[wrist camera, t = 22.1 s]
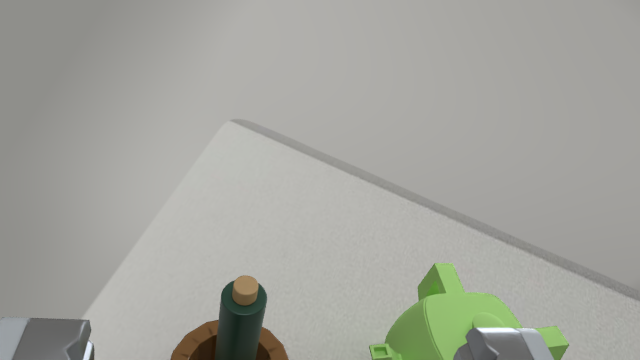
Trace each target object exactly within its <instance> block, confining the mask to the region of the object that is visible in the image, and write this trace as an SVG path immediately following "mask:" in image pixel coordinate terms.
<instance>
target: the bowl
mask: <svg viewBox="0 0 640 360" xmlns="http://www.w3.org/2000/svg"><path fill="white" fill-rule="evenodd" d="M218 322H219V320H215V321H211V322H206V323H205V324H203V325H201V326H200V327H198V328H196V329H195V330H193V331H191V332H190V333H188V334H187V335H186V336H185V337H184V338H183V339H182V341H181V342H180V343H179V344H178V346H177V347H176V348H175V350H174V351H173V353H172V356H171V359H170V360H215V350H216V341H217V331H218ZM255 360H289V359H288V356H287V353H286V351H285V348H284V346H283V344H282V343H281V342H280V341H279V340H278V339H277V338H276V337H275V336H274V335H273V334H272V333H271V332H270V331H269V330H268V329H266V328H264V327H262V328H261V333H260V339H259V344H258V349H257V354H256V359H255Z"/></svg>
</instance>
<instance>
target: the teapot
mask: <svg viewBox="0 0 640 360" xmlns="http://www.w3.org/2000/svg"><path fill="white" fill-rule="evenodd" d="M418 297H419V302H417V303H416V304H414V305H413V306H412V307H410V308H409V309H408V310H406V311H405V312H404V313H403V314H402V315H401V316H400V317H399V318H398V319H397V321H396V322H395V323H394V325H393V326H392V328H391V329H390V331H389V332H388V334H387V336H386V340H385V344H378V345H370V346H369V348H370V352H371V356H372V360H453V357H454V355H455V353H456V351H457V349H458V348H459V347H461V346H462V345H464V344H466V343H467V340H466V337H465V336H466V335H467V333H468V331H469V330H470V329H473V328H523V327H522V326H521V324H520V323H519V321H518V320H517V319H516V317H515V316H514V314H513V313H512V312H511V311H510V309H509V308H508V307H507V306H506V305H505V304H504V303H503V302H502V301H501V300H500V299H499V298H497V297H496V296H494V295H492V294H487V293H465V291H464V289H463V286H462V284H461V282H460V279H459V277H458V275H457V272H456V270H455V268H454V265H453V263H435V264H434V265H433V266H432V268H431V269H430V270H429V272H428V273H427V275H426V276H425V277H424V279H423V280H422V282H421V283H420V284H419V286H418ZM536 330H537V331H538V332H539V333H540V334H541V336H542V337H543V339H544V341H545V343H546V345H547V347H548V349H549V351H550V352H551V354H552V356H553V358H554V360H560V359H561V358H562V356H563V354H564V353H565V351H566V349H567V348H568V346H569V343H568V342H567V340H566V339H565V337H564V336H563V334H562V333H561V331H560V330H559V328H558V327H557V326H552V327H544V328H536Z"/></svg>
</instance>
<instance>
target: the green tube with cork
mask: <svg viewBox="0 0 640 360" xmlns="http://www.w3.org/2000/svg"><path fill="white" fill-rule="evenodd" d="M266 303H267V294H266V292H265V290H264V288H263V287H262V286H261V285H260V284H259V283H258V282H257V280H256V279H255V278H253V277H251V276H240V277H238V278H237V279H236V280H235V281H232V282H230V283H229V284H228V285H226V287H225V288H224V289H223V291H222V294H221V303H220V312H219V322H218V331H217V341H216V350H215V360H255V359H256V354H257V349H258V344H259V339H260V333H261V328H262V323H263V318H264V313H265V308H266Z"/></svg>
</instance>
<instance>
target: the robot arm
mask: <svg viewBox="0 0 640 360" xmlns="http://www.w3.org/2000/svg"><path fill="white" fill-rule="evenodd" d="M90 333H91V326H90V321H89V320H75V319H44V318H19V317H18V318H17V317H2V319H1V320H0V360H94V345H93V343H92V342H91V341H89V336H90ZM465 337H466V340H467V343H466V344H464V345H462V346H461V347H459V348H458V349H457V351H456V353H455V355H454V357H453V360H554V358H553V356H552V354H551V352H550V351H549V349H548V347H547V345H546V343H545V341H544V339H543V337H542V336H541V334H540V333H539V332H538V331H537V330H536V329H531V328H473V329H470V330H469V331H468V333H467V335H466V336H465Z"/></svg>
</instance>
